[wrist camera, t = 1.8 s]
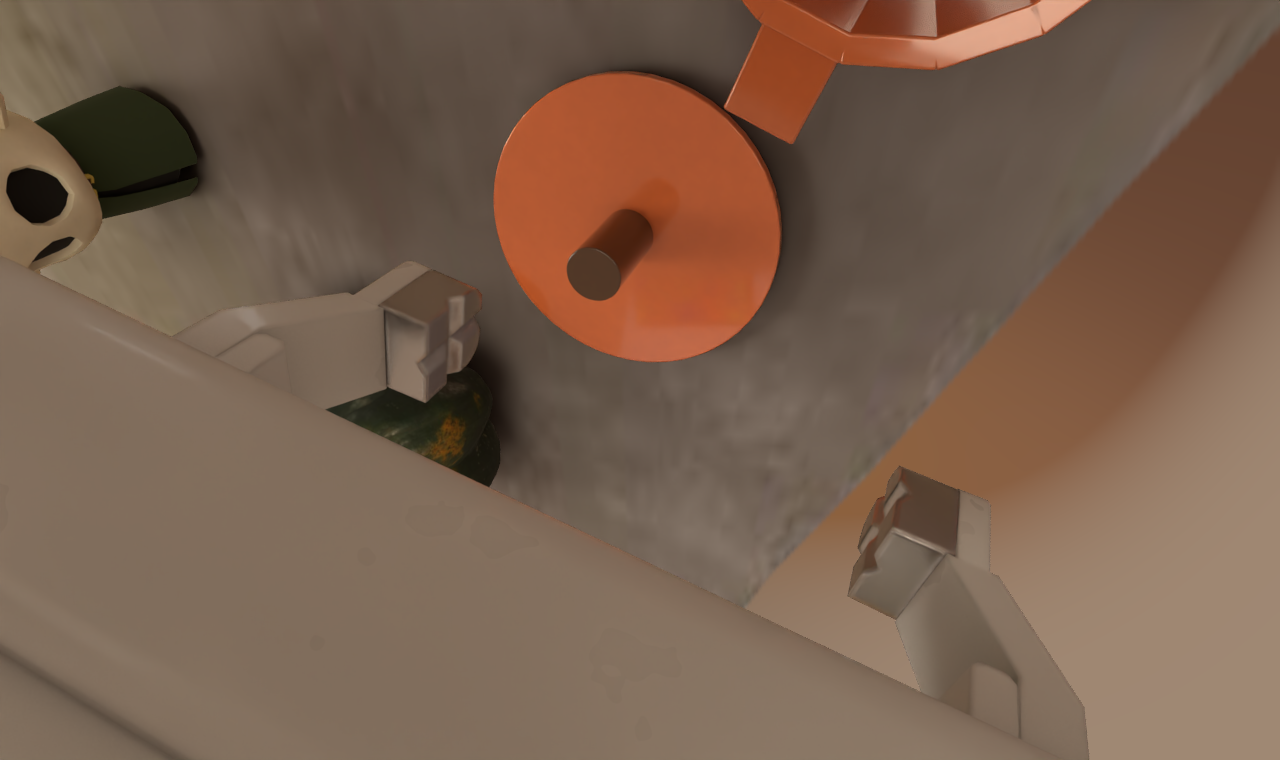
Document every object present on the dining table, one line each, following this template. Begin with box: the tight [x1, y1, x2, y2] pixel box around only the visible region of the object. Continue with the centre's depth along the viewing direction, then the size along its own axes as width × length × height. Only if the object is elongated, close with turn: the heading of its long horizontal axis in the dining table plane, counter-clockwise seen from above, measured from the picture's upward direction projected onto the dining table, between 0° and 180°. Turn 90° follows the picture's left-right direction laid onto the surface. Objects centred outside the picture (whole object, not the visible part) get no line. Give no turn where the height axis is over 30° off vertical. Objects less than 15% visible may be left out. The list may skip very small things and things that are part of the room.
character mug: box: [0, 86, 198, 274], centre depth 36 cm, size 11×7×13 cm, turn 159°
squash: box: [325, 366, 501, 487], centre depth 40 cm, size 14×15×15 cm
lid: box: [494, 71, 782, 362], centre depth 32 cm, size 14×14×6 cm
